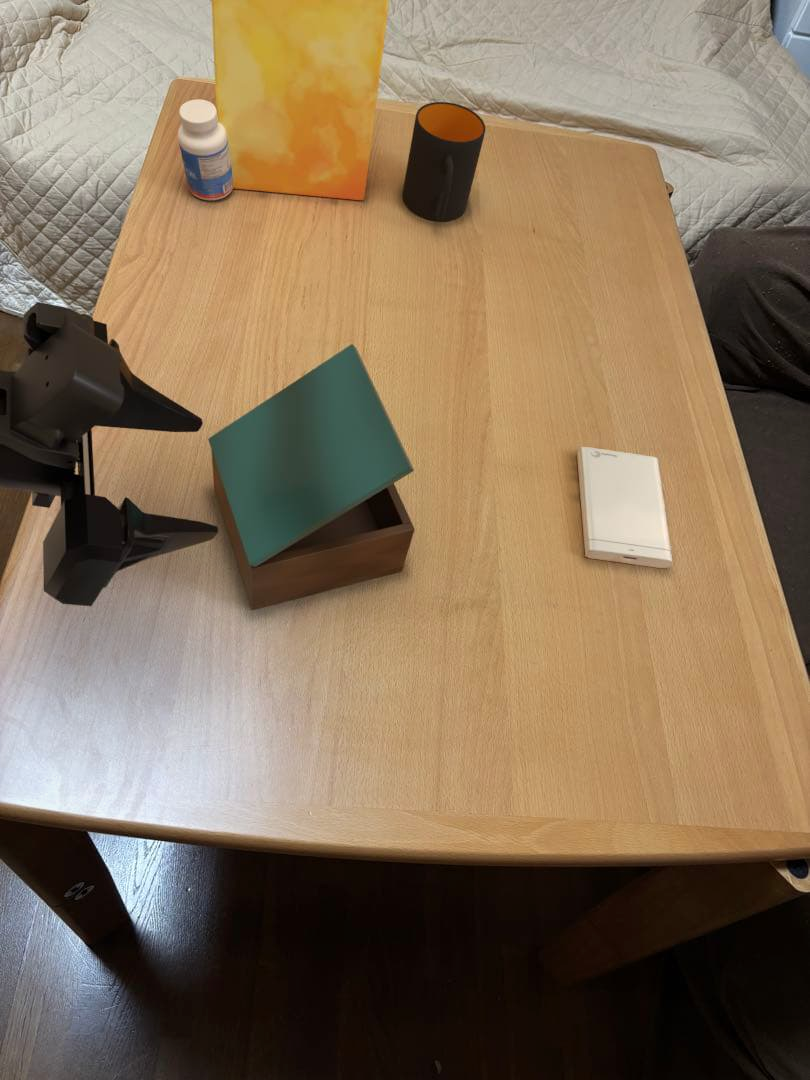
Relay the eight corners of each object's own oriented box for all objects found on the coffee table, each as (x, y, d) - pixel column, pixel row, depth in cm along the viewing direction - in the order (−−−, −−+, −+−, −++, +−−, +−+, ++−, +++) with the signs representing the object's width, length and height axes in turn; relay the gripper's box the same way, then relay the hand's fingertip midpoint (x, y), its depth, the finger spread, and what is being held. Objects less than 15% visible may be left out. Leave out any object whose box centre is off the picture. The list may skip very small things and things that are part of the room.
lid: (356, 348, 63) (352, 343, 63) (414, 471, 57) (410, 466, 57) (213, 442, 66) (207, 438, 66) (254, 567, 61) (249, 564, 60)
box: (355, 462, 76) (363, 415, 71) (402, 571, 71) (415, 529, 65) (214, 491, 72) (210, 443, 66) (252, 610, 66) (251, 569, 61)
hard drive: (581, 445, 80) (590, 548, 73) (659, 456, 81) (675, 560, 74) (575, 455, 81) (584, 558, 75) (652, 466, 82) (667, 569, 75)
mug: (402, 236, 96) (417, 155, 87) (401, 177, 103) (415, 96, 94) (469, 244, 97) (490, 166, 89) (464, 185, 104) (483, 107, 95)
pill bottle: (182, 177, 95) (166, 99, 87) (226, 167, 97) (214, 89, 88) (196, 206, 93) (180, 130, 84) (240, 196, 94) (229, 119, 86)
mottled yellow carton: (359, 143, 105) (383, -69, 85) (363, 201, 98) (391, -14, 79) (223, 129, 102) (216, -95, 82) (219, 188, 95) (209, -40, 76)
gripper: (-26, 477, 35) (284, 526, 45) (-15, 211, 45) (240, 298, 54) (-72, 599, 42) (205, 619, 52) (-54, 348, 52) (177, 403, 61)
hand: (207, 477), depth 54 cm, fingers open, 9 cm apart
